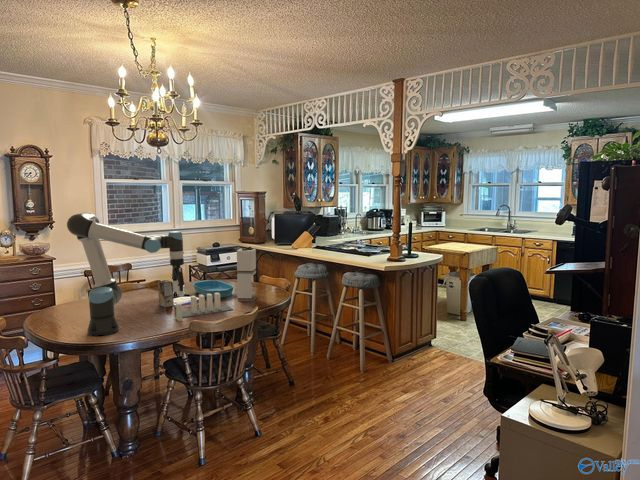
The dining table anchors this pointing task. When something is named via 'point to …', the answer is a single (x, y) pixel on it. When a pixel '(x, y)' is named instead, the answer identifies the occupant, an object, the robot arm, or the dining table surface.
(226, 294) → the casserole dish
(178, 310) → the domino
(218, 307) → the domino
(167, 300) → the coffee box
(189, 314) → the runner mat
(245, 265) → the gray square tower
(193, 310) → the domino
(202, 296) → the domino
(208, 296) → the domino
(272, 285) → the dining table surface
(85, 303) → the dining table surface
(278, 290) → the dining table surface
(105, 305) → the robot arm
